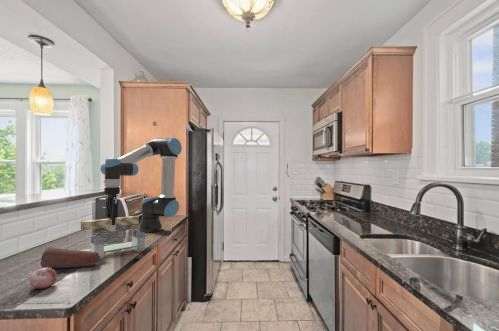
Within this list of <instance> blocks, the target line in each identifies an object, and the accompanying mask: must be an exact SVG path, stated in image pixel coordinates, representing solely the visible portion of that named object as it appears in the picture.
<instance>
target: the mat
mask: <svg viewBox="0 0 499 331" xmlns="http://www.w3.org/2000/svg"><path fill="white" fill-rule="evenodd" d="M125 249H132V241H128V242H122V243H115V244H110V245H109V244H108V245H104V253H108V252H114V251H118V250H119V251H120V250H125ZM80 250H81V251H90V248H86V249H80Z"/></svg>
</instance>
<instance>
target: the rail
mask: <svg viewBox="0 0 499 331" xmlns="http://www.w3.org/2000/svg"><path fill="white" fill-rule="evenodd" d="M139 219H140V216H138V215H131V216H130V215H129V216H120V217H118V218H116V227H120V226H121V227H124V226H131V225H138V224H139V223H140V220H139ZM139 225H140V224H139ZM107 227H110V219H109V218H108V219H107V218H99V219H91V220H80V230H81V231H88V230H97V229H105V228H106V229H107Z"/></svg>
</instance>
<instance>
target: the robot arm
mask: <svg viewBox="0 0 499 331" xmlns="http://www.w3.org/2000/svg"><path fill="white" fill-rule="evenodd" d="M181 152H182V143H181V142H180V140H179V139H178V138H176V137H158V138H154V139H152V140H150V141H148V142H145V143H143V144H142V145H141V146H140V147H139V148H136V149H135V150H133V151H131V152H128V153H127V154H125V155H123V156H120V157H119V158H116V157H115V158H114V157H113V158H111V157H110V158H105V159H104V160H105V162H104V163H102V164H101V165H100V168H99V169H100V172H101V174H102V175H104V180H103V183H104V195H107V197H105V216H106V219H108V218H109V219H110V227H107V228H106V231H109V232H115V231H116V230H117V229H116V228H117V226H116V218H118V216H119V215H118V214H119V199H118V198H117V195H119V194H121V187H120V186H121V177H122V176H125V177H126V176H127V177H128V176H129V177H131V176H136V175H137V174H138V173H139V166H138V164H137V163H138V162H140V161H143V160H144V159H146V158H151V157H153V156H157V155H158V156H160V157H159V158H161V160H162V161H161V182H160V183H161V184H160V195H158V196H153V197H152V196H151V197H145V198H143V199H142V201H141V221H140V222H139V223H140V224H139V227H138V230H140V233H141V232H145V233H157V232H160V231H162V230H163V226H162V222H161V220H160V217H163V218H164V217H165V218H172V217H173V218H174V217H175V216H176V215H177V214H178V212H179V210H180V203H179V201H178V200H177V197H176V196H175V175H176V173H175V172H176V160H177V159H178V158H179V157H178V155H180V154H181Z"/></svg>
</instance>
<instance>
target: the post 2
mask: <svg viewBox="0 0 499 331" xmlns="http://www.w3.org/2000/svg"><path fill="white" fill-rule="evenodd" d="M145 239H146V232H140V230H139V229H138V230H133V231H131V242H132V247H131V250H133V251H135V252H137V253H139V252H143V251H146V250H145V249H146V244H145V243H146V242H145V241H146V240H145Z"/></svg>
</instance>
